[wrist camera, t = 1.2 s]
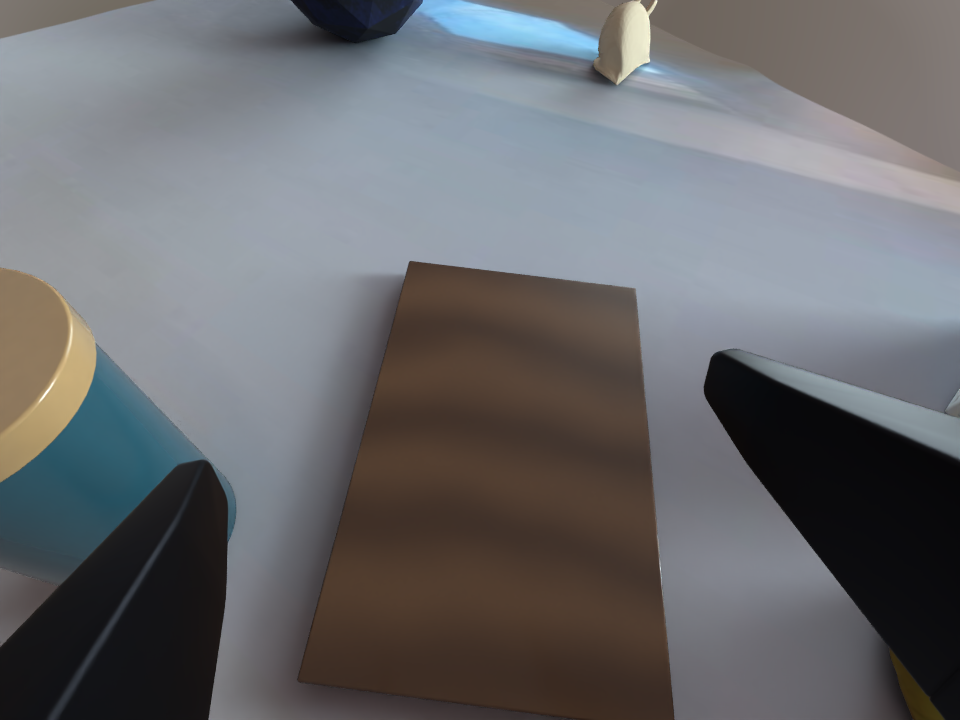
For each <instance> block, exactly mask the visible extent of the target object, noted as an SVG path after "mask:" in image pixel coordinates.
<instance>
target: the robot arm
mask: <svg viewBox="0 0 960 720" xmlns="http://www.w3.org/2000/svg"><path fill="white" fill-rule="evenodd" d="M704 395H705V397H706V400H707V401H708V403H709V404H710V406H711V408H712V409H713V411H714V412H715V414H716V416H717V417H718V419H719V420H720V422H721V424H722V425H723V427H724V428H725V430H726V432H727V433H728V435H729V436H730V438H731V440H732V441H733V443H734V444H735V446H736V448H737V449H738V451H739V452H740V454H741V455H742V457H743V458H744V460H745V461H746V463H747V464H748V466H749V467H750V468H751V470H752V471H753V472H754V474H755V475H756V476H757V478H758V479H759V480H760V482H761V483H762V484H763V485H764V487H765V488H766V489H767V491H768V492H769V493H770V494H771V496H772V497H773V498H774V500H775V501H776V502H777V503H778V505H779V506H780V507H781V509H782V510H783V511H784V512H785V514H786V515H787V516H788V518H789V519H790V520H791V521H792V523H793V524H794V525H795V527H796V528H797V529H798V531H799V532H800V533H801V534H802V536H803V537H804V538H805V540H806V541H807V542H808V543H809V545H810V546H811V547H812V549H813V550H814V551H815V552H816V554H817V555H818V556H819V558H820V559H821V560H822V561H823V563H824V564H825V565H826V567H827V568H828V569H829V571H830V572H831V573H832V574H833V576H834V577H835V578H836V580H837V581H838V582H839V583H840V585H841V586H842V587H843V589H844V590H845V591H846V592H847V594H848V595H849V596H850V598H851V599H852V600H853V601H854V603H855V604H856V605H857V607H858V608H859V609H860V611H861V612H862V613H863V614H864V616H865V617H866V618H867V620H868V621H869V622H870V623H871V625H872V626H873V627H874V629H875V630H876V631H877V632H878V634H879V635H880V636H881V638H882V639H883V640H884V641H885V643H886V644H887V645H888V647H889V648H890V649H891V650H892V652H893V653H894V654H895V656H896V657H897V658H898V660H899V661H900V662H901V663H902V665H903V666H904V667H905V669H906V670H907V671H908V672H909V674H910V675H911V676H912V678H913V679H914V680H915V681H916V683H917V684H918V685H919V687H920V688H921V689H922V690H923V692H924V693H925V694H926V695H927V696H928V697H929V700H930V701H931V703H932V704H933V705H934V707H935V708H936V709H937V710H938V712H939V713H940V714H941V716H942V717H943V718H944V719H945V720H960V418H958V417H954V416H951V415H948V414H945V413H942V412H938V411H935V410H932V409H929V408H926V407H922V406H919V405H916V404H913V403H910V402H906V401H903V400H900V399H897V398H894V397H890V396H887V395H884V394H881V393H877V392H874V391H871V390H868V389H865V388H861V387H858V386H855V385H852V384H849V383H845V382H842V381H839V380H836V379H833V378H829V377H826V376H823V375H820V374H817V373H813V372H810V371H807V370H804V369H801V368H797V367H794V366H791V365H788V364H784V363H781V362H778V361H775V360H772V359H768V358H765V357H762V356H759V355H756V354H752V353H749V352H746V351H743V350H740V349H728V350H723V351H719V352H716V353H714V355H713V356H712V357H711V360H710V364H709V368H708V372H707V375H706V379H705V383H704ZM227 542H228V501H227V496H226V493H225V491H224V489H223V487H222V485H221V483H220V481H219V479H218V477H217V475H216V473H215V471H214V469H213V467H212V465H211V463H210V462H209V461H208V460H205V459H200V460H195V461H191V462H186V463H182V464H179V465H177V466H176V467H175V468H173V470H172V471H171V472H170V473H169V474H168V475H167V476H166V477H165V478H164V479H163V480H162V481H161V482H160V483H159V484H158V485H157V486H156V487H155V488H154V489H153V490H152V491H151V492H150V493H149V494H148V495H147V496H146V497H145V498H144V499H143V500H142V501H141V503H140V504H139V505H138V506H137V507H136V508H135V509H134V510H133V511H132V512H131V513H130V514H129V515H128V516H127V517H126V518H125V519H124V520H123V521H122V522H121V523H120V524H119V525H118V526H117V527H116V528H115V529H114V530H113V531H112V532H111V533H110V534H109V536H108V537H107V538H106V539H105V540H104V541H103V542H102V543H101V544H100V545H99V546H98V547H97V548H96V549H95V550H94V551H93V552H92V553H91V554H90V555H89V556H88V557H87V558H86V559H85V560H84V561H83V562H82V563H81V564H80V565H79V566H78V567H77V569H76V570H75V571H74V572H73V573H72V574H71V575H70V576H69V577H68V578H67V579H66V580H65V581H64V582H63V583H62V584H61V585H60V586H59V587H58V588H57V589H56V590H55V591H54V592H53V593H52V594H51V595H50V596H49V597H48V598H47V599H46V600H45V602H44V603H43V604H42V605H41V606H40V607H39V608H38V609H37V610H36V611H35V612H34V613H33V614H32V615H31V616H30V617H29V618H28V619H27V620H26V621H25V622H24V623H23V624H22V625H21V626H20V627H19V628H18V629H17V630H16V631H15V632H14V633H13V635H12V636H11V637H10V638H9V639H8V640H7V641H6V642H5V643H4V644H3V645H2V646H1V647H0V720H208V718H209V711H210V705H211V698H212V691H213V684H214V678H215V671H216V664H217V657H218V651H219V644H220V637H221V630H222V623H223V617H224V609H225V600H226V583H227Z"/></svg>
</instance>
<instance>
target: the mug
mask: <svg viewBox="0 0 960 720" xmlns="http://www.w3.org/2000/svg"><path fill="white" fill-rule="evenodd" d="M889 651H890V657H891V660H892V663H893V665H894V668H895V670H896V673H897V677H898V681H899V685H900V688H901V691H902V693H903V696H904V698H905V701H906V703H907V706H908V708H909V710H910V713H911V716H912V718H913V720H945V719H944V718H943V717H942V716H941V714H940V713H939V712H938V710H937V709H936V708H935V707H934V705H933V704H932V703H931V701H930V700H929V697H928V696H927V695H926V694H925V693H924V692H923V690H922V689H921V688H920V687H919V685H918V684H917V683H916V681H915V680H914V679H913V678H912V676H911V675H910V674H909V672H908V671H907V670H906V669H905V667H904V666H903V665H902V663H901V662H900V661H899V660H898V658H897V657H896V656H895V654H894V653H893V652H892V650H891V649H890V648H889Z"/></svg>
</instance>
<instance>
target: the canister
mask: <svg viewBox="0 0 960 720" xmlns="http://www.w3.org/2000/svg"><path fill="white" fill-rule="evenodd" d="M200 459H205V460H208V458H207V457H206V456H205V455H204V454H203V453H202V452H201V451H200V450H199V449H198V448H197V447H196V446H195V445H194V444H193V443H192V442H191V441H190V440H189V439H188V438H187V437H186V436H185V435H184V434H183V433H182V432H181V431H180V429H179V428H178V427H177V426H176V425H175V424H174V423H173V422H172V421H171V420H170V419H169V418H168V417H167V416H166V415H165V414H164V413H163V412H162V411H161V410H160V409H159V408H158V407H157V406H156V405H155V404H154V403H153V401H152V400H151V399H150V398H149V397H148V396H147V395H146V394H145V393H144V392H143V391H142V390H141V389H140V388H139V387H138V386H137V385H136V384H135V383H134V382H133V381H132V380H131V379H130V378H129V377H128V376H127V375H126V374H125V372H124V371H123V370H122V369H121V368H120V367H119V366H118V365H117V364H116V363H115V362H114V361H113V360H112V359H111V358H110V357H109V356H108V355H107V354H106V353H105V352H104V351H103V350H102V349H101V348H100V347H99V346H98V345H97V343H96V342H95V340H94V337H93V334H92V331H91V329H90V327H89V326H88V324H87V323H86V321H85V320H84V319H83V318H82V317H81V315H80V314H79V313H78V312H77V311H76V310H75V309H74V308H73V307H72V306H71V305H70V304H69V303H68V302H67V301H66V299H65V298H64V297H63V296H62V295H61V294H60V293H59V292H58V291H57V290H56V289H55V288H54V287H52V286H51V285H49V284H48V283H46V282H45V281H43V280H41V279H39V278H37V277H35V276H32V275H30V274H26V273H23V272H20V271H16V270H11V269H5V268H0V568H1V569H4V570H8V571H11V572H14V573H17V574H21V575H24V576H27V577H30V578H34V579H37V580H40V581H43V582H47V583H50V584H53V585H56V586H60V585H61V584H62V583H63V582H64V581H65V580H66V579H67V578H68V577H69V576H70V575H71V574H72V573H73V572H74V571H75V570H76V569H77V567H78V566H79V565H80V564H81V563H82V562H83V561H84V560H85V559H86V558H87V557H88V556H89V555H90V554H91V553H92V552H93V551H94V550H95V549H96V548H97V547H98V546H99V545H100V544H101V543H102V542H103V541H104V540H105V539H106V538H107V537H108V536H109V534H110V533H111V532H112V531H113V530H114V529H115V528H116V527H117V526H118V525H119V524H120V523H121V522H122V521H123V520H124V519H125V518H126V517H127V516H128V515H129V514H130V513H131V512H132V511H133V510H134V509H135V508H136V507H137V506H138V505H139V504H140V503H141V501H142V500H143V499H144V498H145V497H146V496H147V495H148V494H149V493H150V492H151V491H152V490H153V489H154V488H155V487H156V486H157V485H158V484H159V483H160V482H161V481H162V480H163V479H164V478H165V477H166V476H167V475H168V474H169V473H170V472H171V471H172V470H173V468H175V467H176V466H177V465H179V464H182V463H186V462H191V461H195V460H200ZM208 461H209V460H208ZM209 462H210V461H209ZM210 463H211V462H210ZM211 465H212V467H213V469H214V471H215V473H216V475H217V477H218V479H219V481H220V483H221V485H222V487H223V489H224V491H225V493H226V496H227V501H228V541H229V539H230V537H231V534H232V531H233V528H234V524H235V518H236V500H235V496H234V492H233V489H232V487H231V485H230V483H229V482H228V480H227V479H226V477H225V476H224V475H223V474H222V473H221V472H220V471H219V470H218V469H217V468H216V467H215V466H214V465H213V464H212V463H211ZM227 544H228V542H227Z"/></svg>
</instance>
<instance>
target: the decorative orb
mask: <svg viewBox="0 0 960 720" xmlns="http://www.w3.org/2000/svg"><path fill="white" fill-rule="evenodd" d="M291 1H292V2H293V3H294V4H295V5H296V6H297V8H298V9H299V10H300V11H301V12H302V13H303V14H304V15H305V16H306V17H307V18H308V19H309V20H310V21H311V22H312V23H313V24H314V25H315V26H318V27H320V28H322V29H325V30H327V31H329V32H331V33H334V34H336V35H338V36H340V37H343V38H345V39H347V40H350V41H352V42H354V43H357V42H361V41H366V40H370V39H374V38H379V37H383V36H387V35H392V34H395V33H396V32H397V31H398V30H399V29H400V28H401V27H402V25H403V24H404V23H405V22H406V21H407V20H408V19H409V17H410V16H411V15H412V14H413V13H414V12H415V11H416V9H417V8H418V7H419V6H420V5H421V4H422V2H423V0H291Z"/></svg>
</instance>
